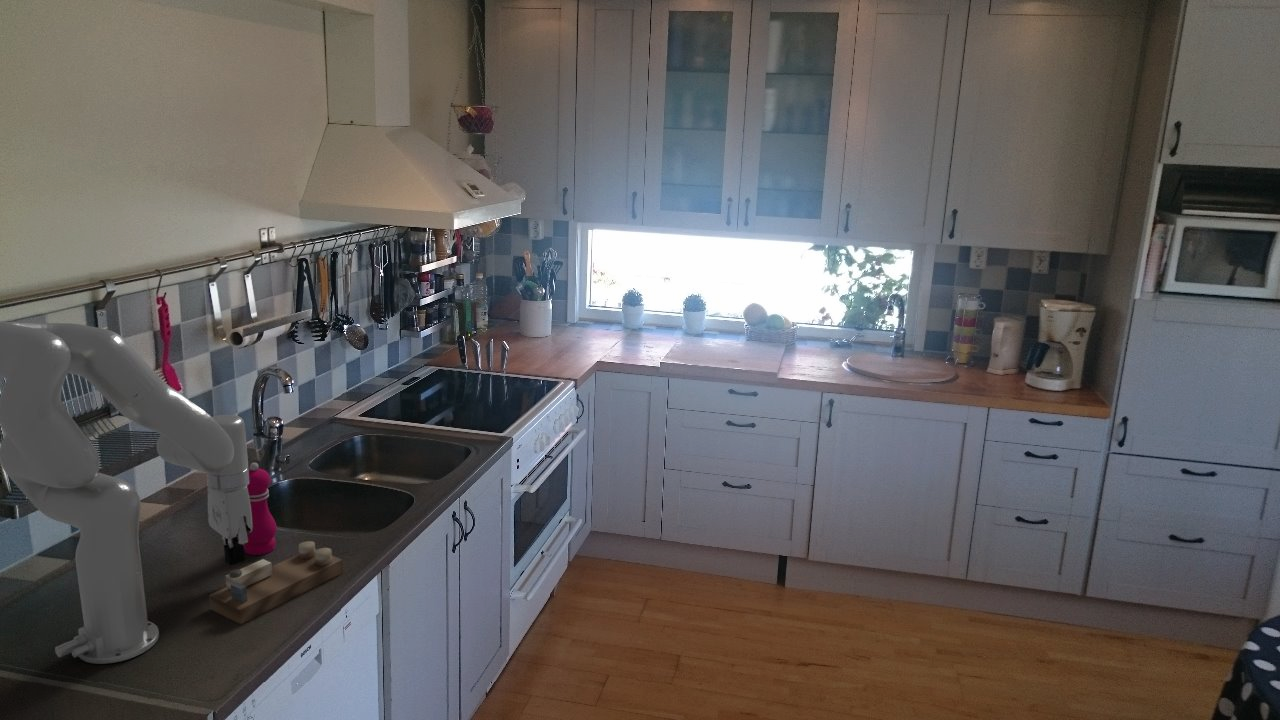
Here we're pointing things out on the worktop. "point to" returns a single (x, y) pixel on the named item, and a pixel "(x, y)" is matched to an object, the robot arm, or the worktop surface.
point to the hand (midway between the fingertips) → (235, 562)
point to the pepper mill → (260, 513)
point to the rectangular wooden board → (278, 584)
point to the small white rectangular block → (249, 573)
